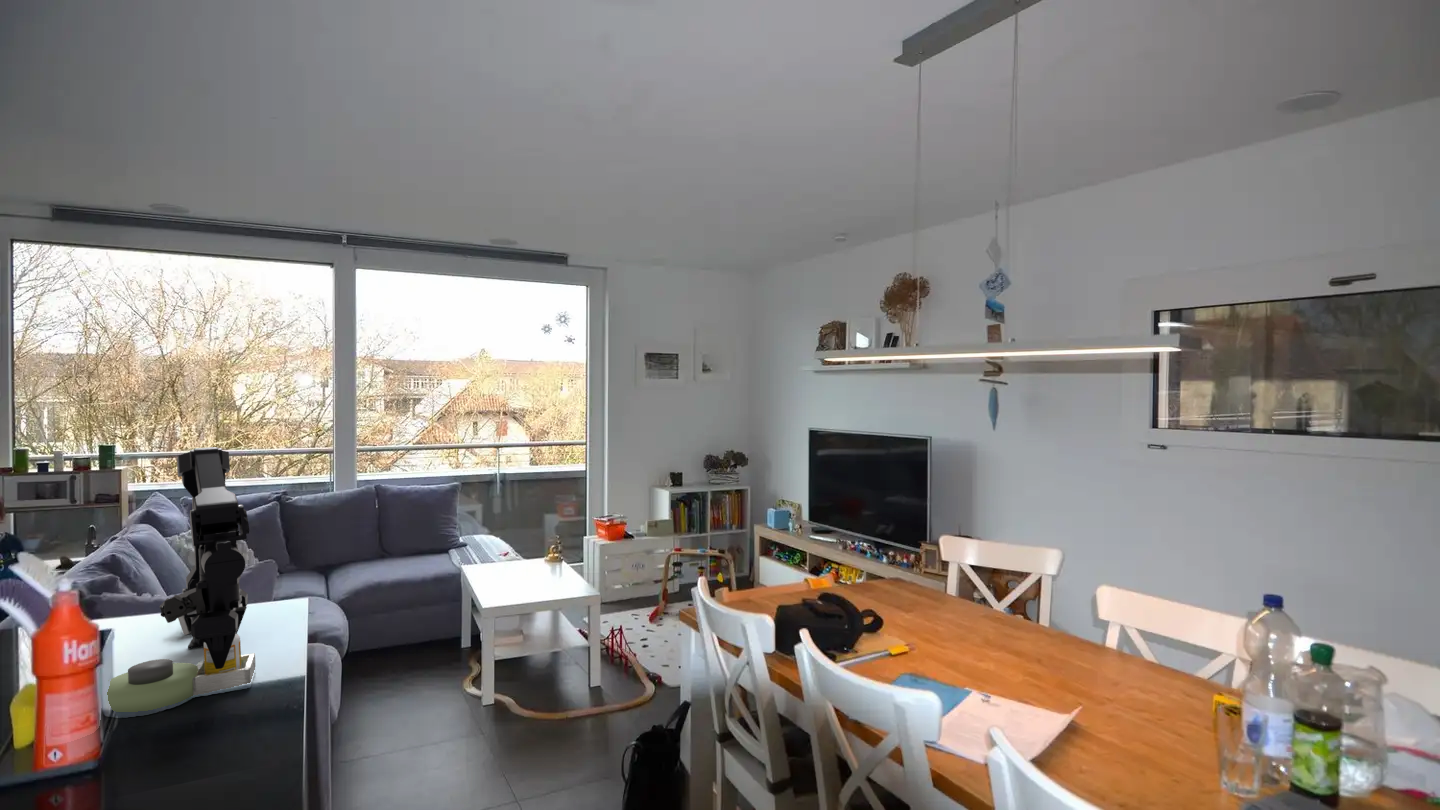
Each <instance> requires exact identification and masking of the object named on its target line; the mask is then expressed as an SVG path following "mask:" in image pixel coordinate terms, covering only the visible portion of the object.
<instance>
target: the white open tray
mask: <svg viewBox="0 0 1440 810" xmlns="http://www.w3.org/2000/svg"><path fill="white" fill-rule="evenodd" d="M196 666H197V667H198V674H197V675H196V676H195V677H193V678H192V679H193V695H198V694H204V693H209V692H212V691H217V690H220V689H226V688H231V687H234V686H239V685H242V684H247V683H250V682H251V679H252V676H253V673H254V670H255V667H256V653H253V652H252V653H247V654H241V667H242V669H236V670H230V671H224V672H218V673H212V674H205V664H204V660H202V661H198V663H197V664H196Z"/></svg>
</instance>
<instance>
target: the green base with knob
mask: <svg viewBox="0 0 1440 810" xmlns="http://www.w3.org/2000/svg"><path fill="white" fill-rule="evenodd" d="M197 674H198V667H197V664H193V663H190V662H189V663H188V662H174V660H172V659H170V658H169V659H168V658H159V659H151V660H147V661H144V662H141V663H136V664H134V665H132V666H130V667H129V668H128V669H127V672H124V673H122V674H119V675H117V676H114V677H112V678H110V679H111V681H110V686H109V689H108V692H107V695H108V701H109V704H110V706H111V708H112V710H113V711H116V712H138V711H148V710H153V709H157V708H161V707H164V706H168V705H172V704H175V703H178V702H181V701H183V700H185V699H187V698H189V697H191V696H193V679H192V678H193V677H195V676H196V675H197Z"/></svg>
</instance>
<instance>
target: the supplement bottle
mask: <svg viewBox="0 0 1440 810" xmlns="http://www.w3.org/2000/svg"><path fill="white" fill-rule="evenodd" d="M241 655H242V651H241V636H240V635H239V634H238V633H237V634H235V637H234V640H233V643H232V645H231V648H230V651H229V654H228V656H227V659H226V662H225V664H224V667H223V668H221V669H216V668H215V666H214V663H213V660H212V658H211V655H210V652H209V650H208V647H207V645H206V643H205V642H204V647H203V661H204V664H205V674H212V673H218V672H224V671H230V670H236V669H242V667H241Z"/></svg>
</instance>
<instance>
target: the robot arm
mask: <svg viewBox="0 0 1440 810" xmlns="http://www.w3.org/2000/svg"><path fill="white" fill-rule="evenodd" d="M176 469H177V477H178V478H179V477H181V483H182V485H183V486H182V487H183V488H184V489H185V490H186V491H187V492H188V494H189V495H190V496H191V500H192V501H191V502H192V504H191V505H192V509H190V510H189V523H190V525H189V526H190V532H191V533H190V534H191V541H192V545H193V553H194V565H193V567H192V568H191V569H190V571H189V573H188V575H187V576H185V577H186V578H185V583H186V584H185V586H186V587H185V588H182V592H181V593H179V594H175V595H173V596H172V597H170V598H169V597H168V598H166V599H165V600H164V601H163V602H162V603H161V604H160V605H159V607H158V608H159V610H161V611H160V616H161V617H162V618H165V620H166V622H167V623H169V624H170V623H172V622H175V621H177V619H178V618H179V617H181V616H184V619H187V618H191V621H192V624H191V633H190V634H191V635H190V636H191V640H190V642H189V643H188V645H187V649H188V650H189V649H197V648H202V647H203V648H204V642H205V643H206V645H207V647H208V650H209V652H210V655H211V658H212V660H213V663H214V666H215V668H216V669H221V668H223V667H224V664H225V662H226V659H227V656H228V654H229V651H230V648H231V645H232V643H233V640H234V637H235V634H238V632H239V628H240V626H241V624H242V621H243V618H244V615H245V613H246V611H247V606H248V602H249V598H248V595H249V594H248V592H246V591H245V590H243V589H242V588H240V580H241V578H242V575H243V573H244V572H245V568H246V560H245V558H244V556H243V554H242V553H241V551H240V550H239V547H238V544H239V543H237V542H239V541H245V540H248V538H247V534H250V526H249V519H248V513H247V512H248V511H247V510H246V509H244V507H245V506H244V505H243V504H239V501H238V498H237V494H235V493H234V492H232V491H229V490H227V486H226V474H229V472H230V470H231V464H230V453H229V451H227V450H223V449H222V447H221V448H219V447H218V446H212V447H210V446H209V447H198V448H196V447H195V448H193V449H190V450H189V451H188V452H185V453H182V454H179V455H177V459H176ZM240 604H242V606H243V607H239V605H240Z"/></svg>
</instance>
